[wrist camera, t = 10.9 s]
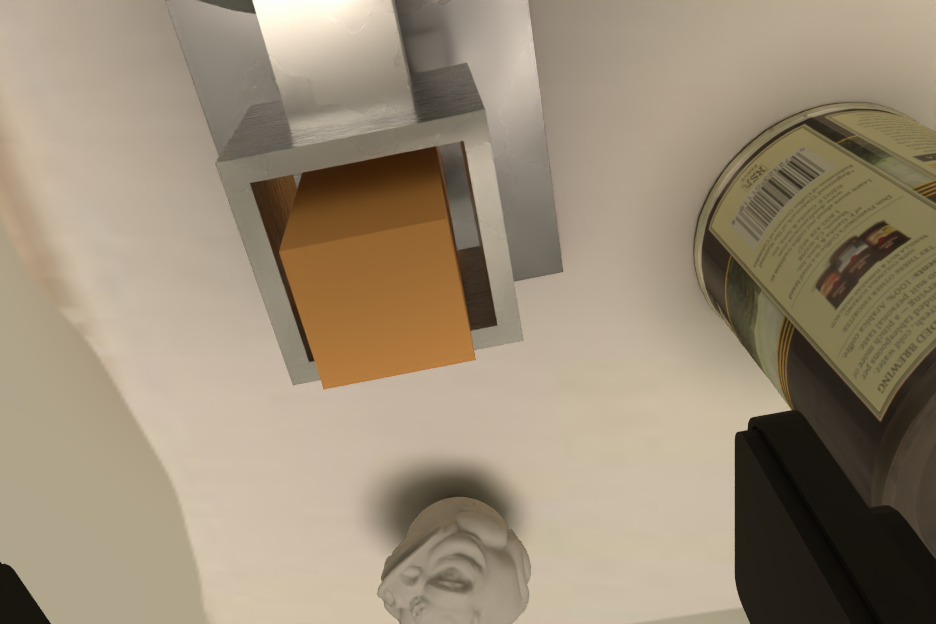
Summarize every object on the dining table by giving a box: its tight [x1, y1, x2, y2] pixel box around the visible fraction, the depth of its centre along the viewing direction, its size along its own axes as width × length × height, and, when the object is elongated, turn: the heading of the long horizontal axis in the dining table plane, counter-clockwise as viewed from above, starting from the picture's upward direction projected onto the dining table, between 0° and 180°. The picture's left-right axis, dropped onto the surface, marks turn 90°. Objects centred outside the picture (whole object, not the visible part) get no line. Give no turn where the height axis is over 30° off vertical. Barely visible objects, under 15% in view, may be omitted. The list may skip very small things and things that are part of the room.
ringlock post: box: [165, 0, 563, 385], centre depth 16 cm, size 22×11×21 cm, turn 10°
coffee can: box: [694, 103, 936, 559], centre depth 25 cm, size 10×10×14 cm
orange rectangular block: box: [279, 146, 476, 389], centre depth 22 cm, size 4×4×11 cm
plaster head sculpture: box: [377, 497, 531, 624], centre depth 34 cm, size 6×7×7 cm
